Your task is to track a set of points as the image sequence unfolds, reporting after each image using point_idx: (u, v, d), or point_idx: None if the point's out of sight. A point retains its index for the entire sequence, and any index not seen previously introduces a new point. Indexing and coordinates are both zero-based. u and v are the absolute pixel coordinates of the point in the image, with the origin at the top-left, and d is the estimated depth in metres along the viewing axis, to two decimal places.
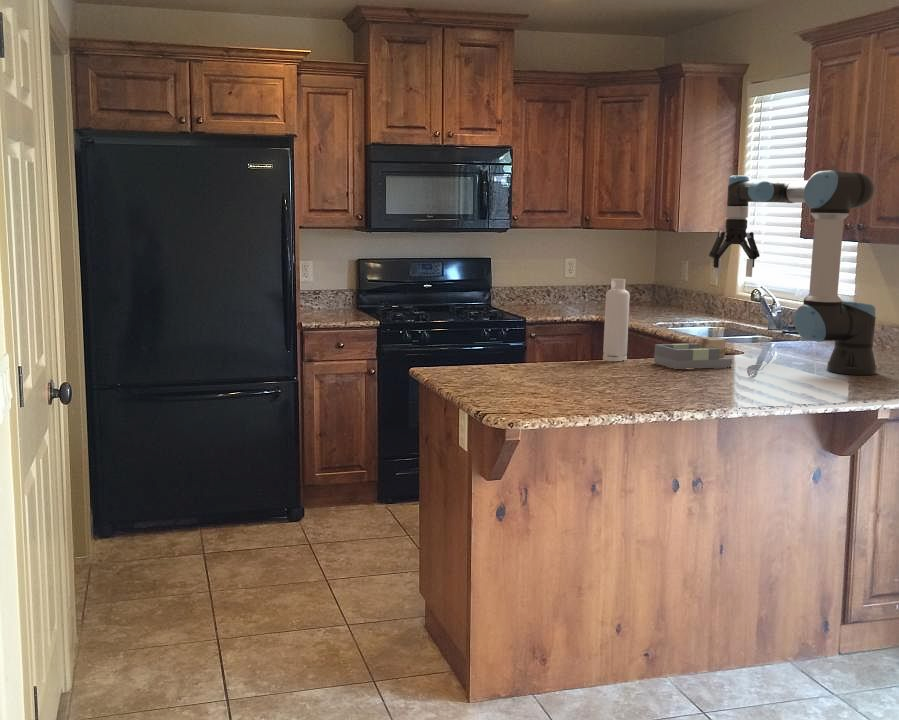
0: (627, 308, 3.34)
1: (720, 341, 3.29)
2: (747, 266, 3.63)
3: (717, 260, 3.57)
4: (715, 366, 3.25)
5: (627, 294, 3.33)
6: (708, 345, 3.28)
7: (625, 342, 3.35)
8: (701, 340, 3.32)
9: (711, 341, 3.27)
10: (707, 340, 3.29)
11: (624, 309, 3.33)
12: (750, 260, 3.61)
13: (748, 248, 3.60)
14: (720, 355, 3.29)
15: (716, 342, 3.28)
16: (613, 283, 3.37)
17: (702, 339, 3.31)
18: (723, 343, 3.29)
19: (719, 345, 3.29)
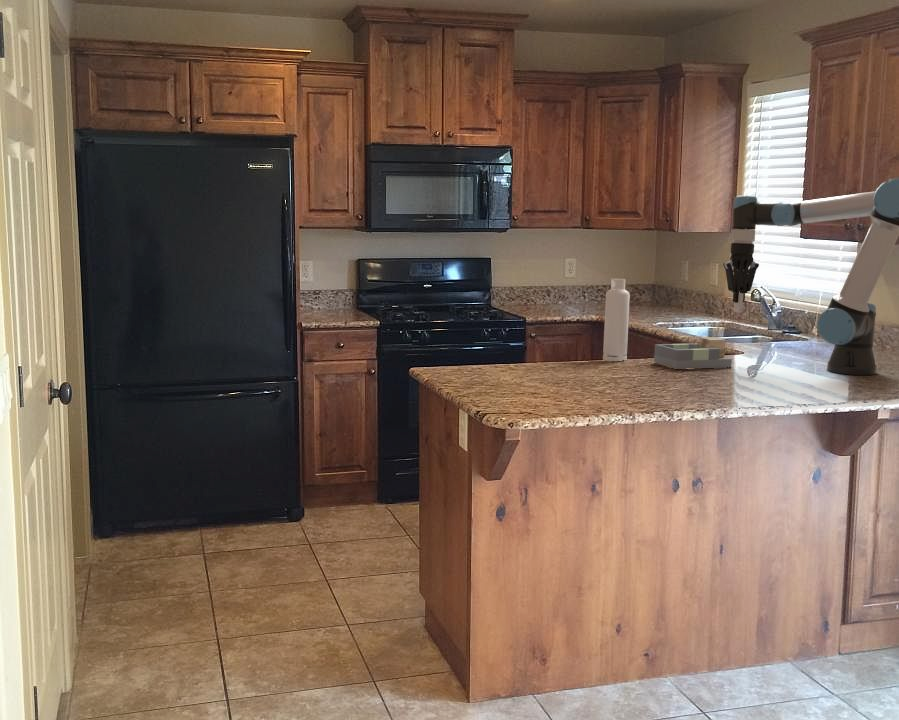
0: (627, 308, 3.34)
1: (720, 341, 3.29)
2: None
3: (737, 294, 3.31)
4: (715, 366, 3.25)
5: (627, 294, 3.33)
6: (708, 345, 3.28)
7: (625, 342, 3.35)
8: (701, 340, 3.32)
9: (711, 341, 3.27)
10: (707, 340, 3.29)
11: (624, 309, 3.33)
12: None
13: (745, 278, 3.30)
14: (720, 355, 3.29)
15: (716, 342, 3.28)
16: (613, 283, 3.37)
17: (702, 339, 3.31)
18: (723, 343, 3.29)
19: (719, 345, 3.29)
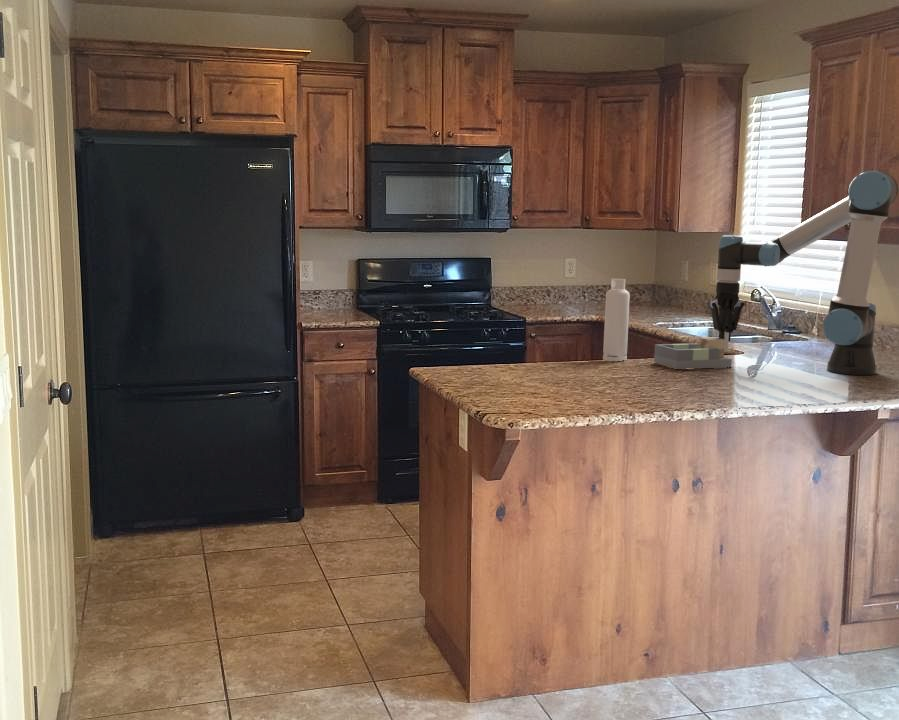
0: (627, 308, 3.34)
1: (719, 341, 3.29)
2: None
3: (722, 333, 3.31)
4: (715, 366, 3.25)
5: (627, 294, 3.33)
6: (707, 345, 3.28)
7: (625, 342, 3.35)
8: (700, 340, 3.32)
9: (710, 341, 3.27)
10: (706, 340, 3.29)
11: (624, 309, 3.33)
12: None
13: (731, 317, 3.31)
14: (719, 355, 3.29)
15: (715, 342, 3.28)
16: (613, 283, 3.37)
17: (701, 339, 3.31)
18: (722, 343, 3.29)
19: (718, 345, 3.29)
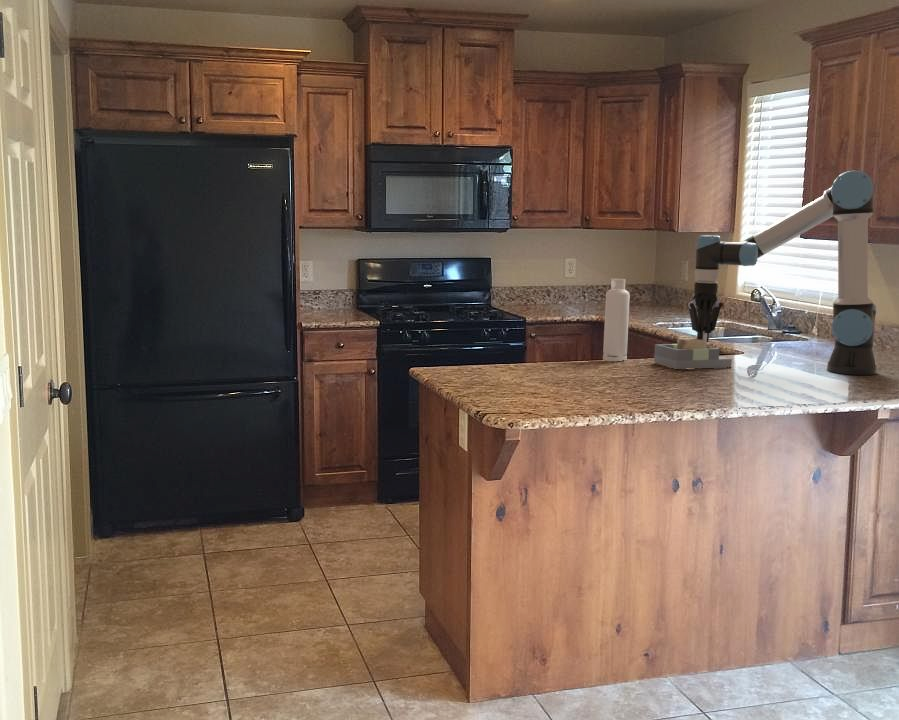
0: (627, 308, 3.34)
1: (698, 342, 3.26)
2: None
3: (701, 334, 3.29)
4: (715, 366, 3.25)
5: (627, 294, 3.33)
6: (686, 346, 3.25)
7: (625, 342, 3.35)
8: (678, 341, 3.29)
9: (689, 342, 3.24)
10: (685, 341, 3.26)
11: (624, 309, 3.33)
12: None
13: (709, 318, 3.28)
14: None
15: (694, 343, 3.25)
16: (613, 283, 3.37)
17: (680, 340, 3.28)
18: (701, 344, 3.26)
19: (697, 346, 3.26)
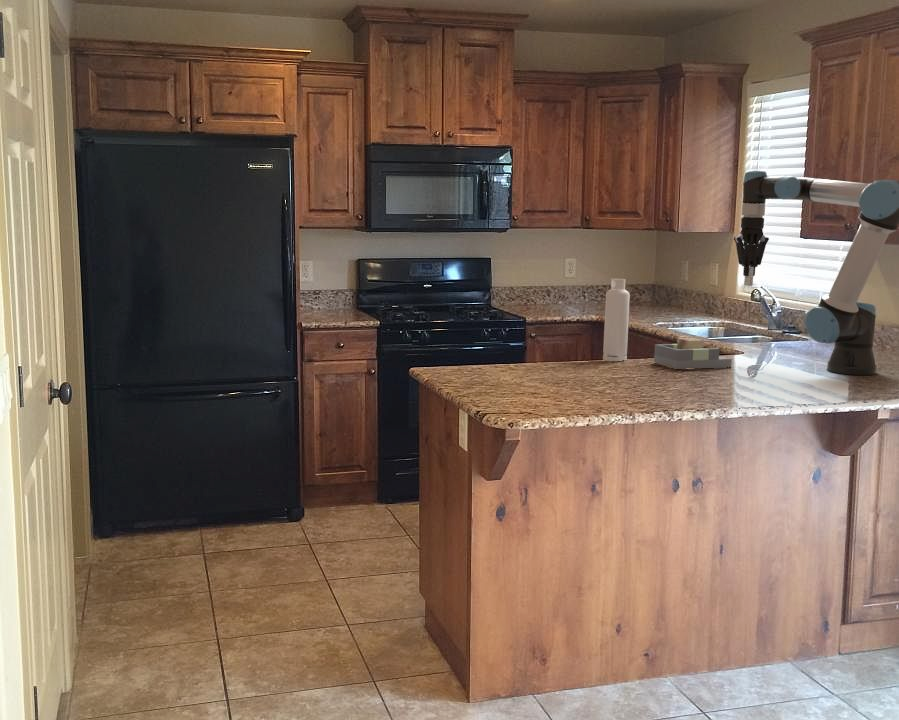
0: (627, 308, 3.34)
1: (698, 342, 3.26)
2: None
3: (747, 268, 3.36)
4: (715, 366, 3.25)
5: (627, 294, 3.33)
6: (686, 346, 3.25)
7: (625, 342, 3.35)
8: (679, 341, 3.29)
9: (689, 342, 3.24)
10: (685, 341, 3.26)
11: (624, 309, 3.33)
12: None
13: (755, 252, 3.36)
14: None
15: (694, 343, 3.25)
16: (613, 283, 3.37)
17: (680, 340, 3.28)
18: (701, 344, 3.26)
19: (697, 346, 3.26)
